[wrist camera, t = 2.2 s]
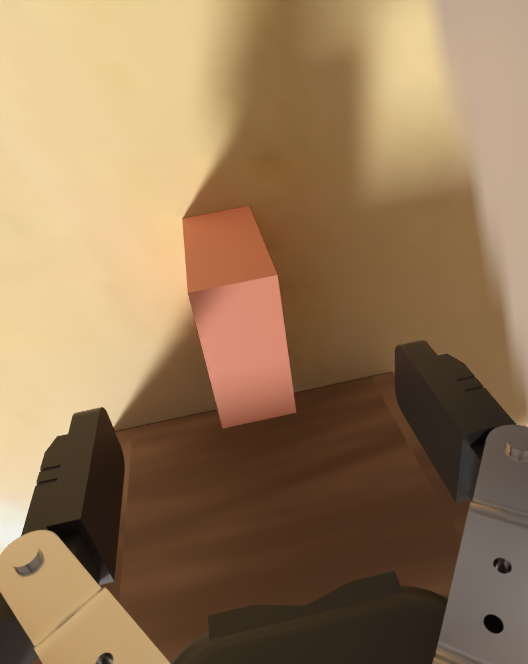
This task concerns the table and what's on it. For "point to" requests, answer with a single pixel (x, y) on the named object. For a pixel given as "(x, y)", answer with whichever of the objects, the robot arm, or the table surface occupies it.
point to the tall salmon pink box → (238, 316)
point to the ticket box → (278, 510)
